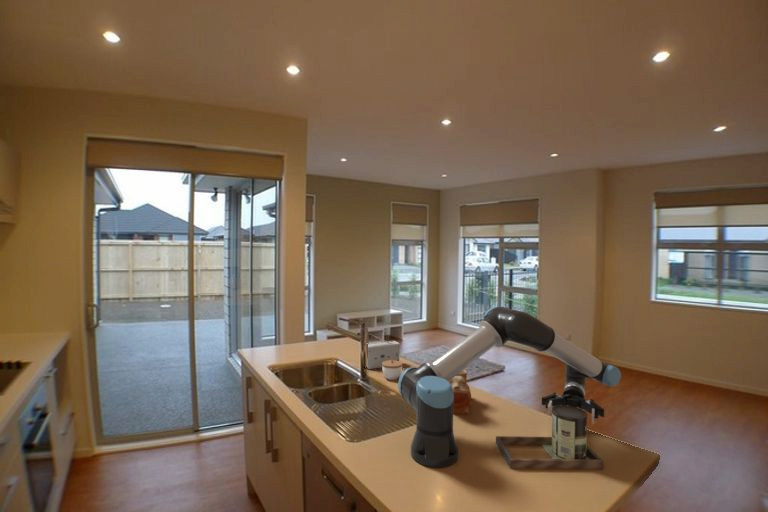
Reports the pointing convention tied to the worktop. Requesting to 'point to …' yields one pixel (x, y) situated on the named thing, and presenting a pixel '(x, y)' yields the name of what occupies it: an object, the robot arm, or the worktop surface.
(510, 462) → the wooden serving tray
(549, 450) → the pad
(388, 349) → the stereo radio cassette player
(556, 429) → the coffee can
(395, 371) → the lidded jar
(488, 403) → the worktop surface
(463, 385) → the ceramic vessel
